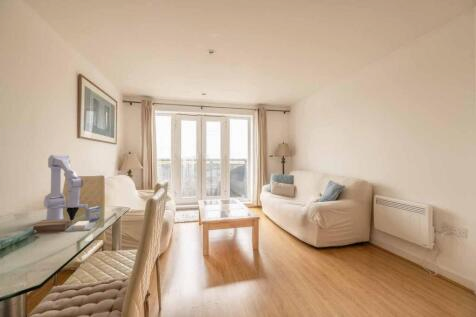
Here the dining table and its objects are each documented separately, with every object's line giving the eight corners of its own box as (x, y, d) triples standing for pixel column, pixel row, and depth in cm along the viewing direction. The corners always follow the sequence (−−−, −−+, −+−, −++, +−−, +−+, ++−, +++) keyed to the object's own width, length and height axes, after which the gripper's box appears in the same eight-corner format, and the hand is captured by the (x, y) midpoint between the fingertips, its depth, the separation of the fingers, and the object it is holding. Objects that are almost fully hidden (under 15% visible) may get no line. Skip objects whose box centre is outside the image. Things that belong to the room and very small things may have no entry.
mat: (72, 224, 131) (73, 223, 131) (96, 223, 136) (96, 222, 136) (64, 231, 118) (64, 230, 118) (90, 230, 123) (90, 229, 123)
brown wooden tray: (43, 226, 124) (43, 220, 124) (71, 224, 130) (71, 218, 130) (33, 233, 113) (33, 226, 113) (64, 231, 119) (65, 224, 119)
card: (89, 220, 132) (89, 223, 132) (78, 221, 130) (77, 224, 130) (85, 225, 124) (85, 228, 124) (73, 225, 122) (73, 229, 122)
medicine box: (89, 221, 138) (90, 209, 138) (84, 220, 139) (85, 208, 139) (99, 218, 146) (100, 206, 146) (94, 217, 147) (95, 205, 147)
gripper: (56, 199, 119) (54, 222, 118) (86, 198, 125) (84, 220, 124) (60, 197, 125) (59, 218, 125) (89, 196, 131) (87, 217, 131)
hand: (72, 219), depth 125 cm, fingers closed
